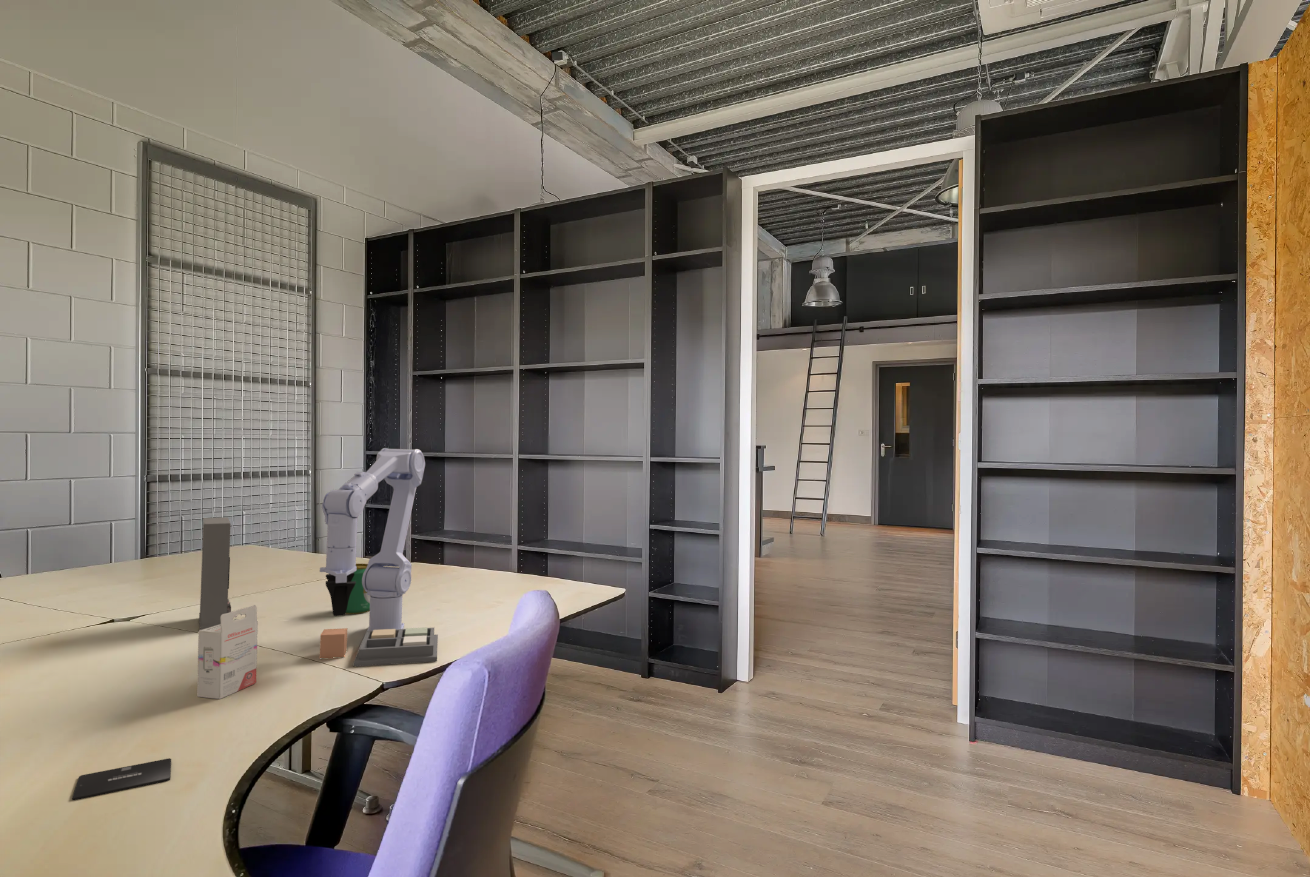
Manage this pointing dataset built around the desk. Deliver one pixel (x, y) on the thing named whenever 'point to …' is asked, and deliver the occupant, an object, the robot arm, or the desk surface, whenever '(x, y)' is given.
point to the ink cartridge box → (228, 654)
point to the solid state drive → (122, 779)
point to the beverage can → (358, 594)
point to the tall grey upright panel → (214, 571)
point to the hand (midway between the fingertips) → (339, 611)
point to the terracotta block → (333, 643)
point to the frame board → (397, 647)
